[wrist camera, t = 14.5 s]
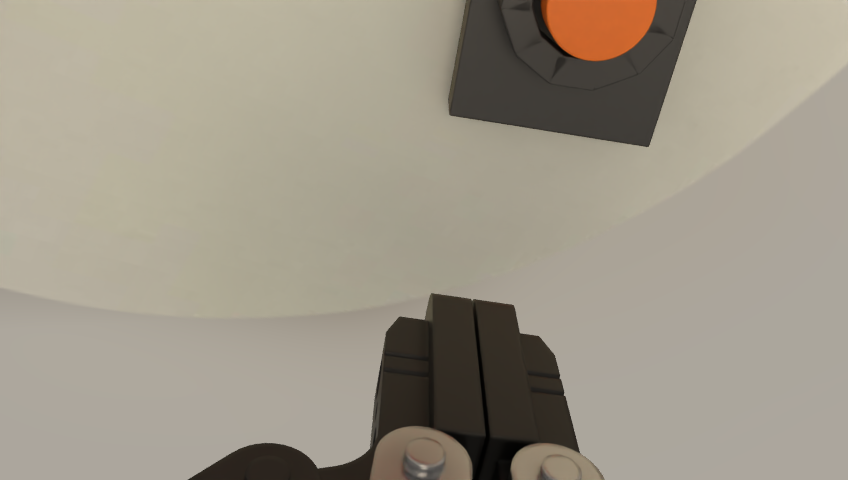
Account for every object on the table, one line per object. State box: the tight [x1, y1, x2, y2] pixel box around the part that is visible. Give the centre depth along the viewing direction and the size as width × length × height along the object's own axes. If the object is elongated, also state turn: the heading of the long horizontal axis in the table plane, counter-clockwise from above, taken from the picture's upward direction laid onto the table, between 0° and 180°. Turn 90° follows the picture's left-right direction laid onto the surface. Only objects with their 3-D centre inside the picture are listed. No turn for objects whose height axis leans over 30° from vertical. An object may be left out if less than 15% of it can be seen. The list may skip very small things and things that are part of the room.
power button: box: [541, 0, 657, 61], centre depth 28 cm, size 4×4×2 cm
